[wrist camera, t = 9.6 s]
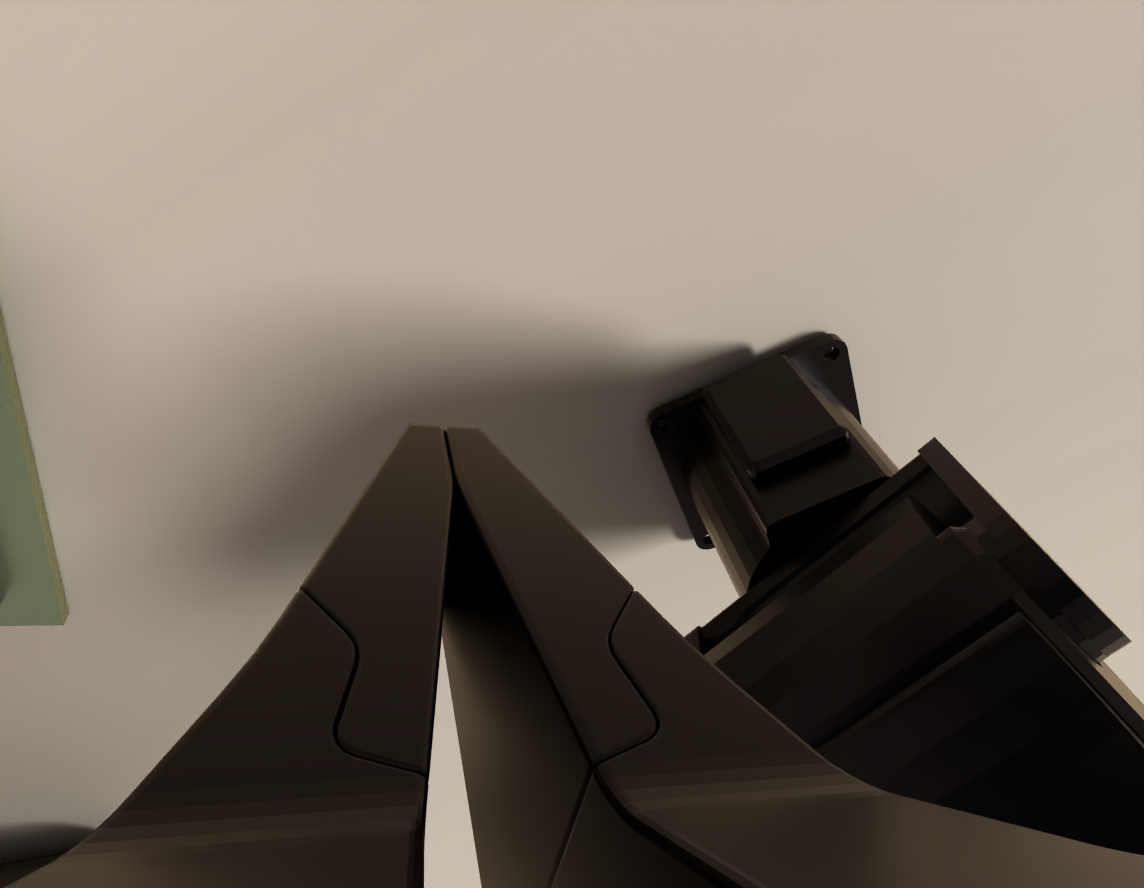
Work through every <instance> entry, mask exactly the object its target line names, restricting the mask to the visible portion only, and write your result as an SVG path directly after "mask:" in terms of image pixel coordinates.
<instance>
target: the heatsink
mask: <svg viewBox="0 0 1144 888" xmlns="http://www.w3.org/2000/svg"><path fill="white" fill-rule="evenodd" d="M68 614H69V612H68V607H67V603H66V598H65V594H64V589H63V585H62V580H61V576H60V571H59V567H58V563H57V558H56V554H55V549H54V545H53V540H52V536H51V531H50V527H49V522H48V518H47V513H46V509H45V504H44V500H43V496H42V491H41V487H40V482H39V478H38V473H37V469H36V464H35V460H34V455H33V451H32V446H31V442H30V437H29V433H28V428H27V424H26V420H25V415H24V411H23V406H22V402H21V397H20V393H19V388H18V384H17V379H16V375H15V370H14V366H13V361H12V357H11V352H10V348H9V344H8V339H7V335H6V330H5V326H4V321H3V317H2V312H1V308H0V626H21V625H64V623H65V621H66V618H67V616H68Z"/></svg>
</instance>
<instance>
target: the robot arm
mask: <svg viewBox="0 0 1144 888" xmlns="http://www.w3.org/2000/svg"><path fill="white" fill-rule="evenodd" d="M831 347H834V348H833V350H832V351H831V352H830V353H829V354H827V355H824V353H825V352H826V350H828V349H829V348H831ZM663 420H669V421H668V423H667V424H665V425H663V426H658V424H659V423H660V422H661V421H663ZM646 422H647V427H648V429H649V432H650V434H651V437H652V439H653V441H654V444H655V446H656V449H657V451H658V453H659V456H660V458H661V461H662V463H663V465H664V468H665V470H666V473H667V475H668V477H669V480H670V482H671V485H672V487H673V490H674V492H675V494H676V497H677V499H678V502H679V504H680V506H681V509H682V511H683V514H684V516H685V518H686V521H687V523H688V526H689V528H690V530H691V533H692V535H693V538H694V540H695V542H696V544H697V546H698V547H699V548H701V549H711V548H716V550H717V552H718V554H719V556H720V558H721V560H722V562H723V564H724V566H725V568H726V570H727V572H728V574H729V576H730V579H731V581H732V583H733V585H734V587H735V589H736V591H737V593H738V595H739V598H738V599H737V600H736V601H734V602H733V603H732V604H731V605H729V606H728V607H727V608H726V609H724V610H723V611H722V612H721V613H719V614H718V615H717V616H716V617H714V618H713V619H712V620H711V621H709V622H708V623H707V624H706V625H704V626H703V627H700V626H698V627H696V628H695V629H694V630H692V631H691V632H690V633H689V634H687V635H686V636H685V637H683V636H682V635H681V634H680V633H679V632H678V631H677V630H676V629H675V628H674V627H673V626H672V625H671V624H670V623H669V622H668V621H667V620H666V619H664V618H663V617H662V616H661V615H660V614H659V613H658V612H657V611H656V610H655V609H654V608H653V607H652V605H651V604H650V603H649V602H648V601H647V600H646V599H645V598H644V597H643V596H642V595H641V594H640V593H639V592H637V591H634V588H633V586H632V585H631V584H630V583H629V582H628V581H627V580H626V579H625V578H624V577H623V576H622V575H621V574H620V573H619V572H618V571H617V570H616V569H615V568H614V567H613V566H612V565H611V563H610V562H609V561H608V560H607V559H606V558H605V557H604V556H603V555H602V554H601V553H600V552H599V551H598V550H597V549H596V548H595V547H594V546H593V545H592V544H591V543H590V542H589V541H588V540H587V539H586V538H585V537H584V536H583V535H582V533H581V532H580V531H579V530H578V529H577V528H576V527H575V526H574V525H573V524H572V523H571V522H570V521H569V520H568V519H567V518H566V517H565V516H564V515H563V514H562V513H561V512H560V511H559V510H558V509H557V508H556V507H555V506H554V505H553V504H552V502H551V501H550V500H549V499H548V498H547V497H546V496H545V495H544V494H543V493H542V492H541V491H540V490H539V489H538V488H537V487H536V486H535V485H534V484H533V483H532V482H531V481H530V480H529V479H528V478H527V477H526V476H525V475H524V474H523V473H522V471H521V470H520V469H519V468H518V467H517V466H516V465H515V464H514V463H513V462H512V461H511V460H510V459H509V458H508V457H507V456H506V455H505V454H504V453H503V452H502V451H501V450H500V449H499V448H498V447H497V446H496V445H495V444H494V443H493V442H492V440H491V439H490V438H489V437H488V436H487V435H486V434H485V433H484V432H483V431H482V430H481V429H479V428H476V427H461V426H448V427H446V428H445V429H444V430H443V428H442V427H441V426H438V425H425V424H409V425H408V426H407V427H406V428H405V429H404V431H403V432H402V434H401V435H400V437H399V438H398V440H397V441H396V443H395V444H394V446H393V447H392V449H391V450H390V452H389V453H388V455H387V456H386V458H385V459H384V461H383V462H382V464H381V465H380V467H379V469H378V470H377V472H376V473H375V475H374V476H373V478H372V479H371V481H370V482H369V484H368V485H367V487H366V488H365V490H364V491H363V493H362V494H361V496H360V497H359V499H358V500H357V502H356V503H355V505H354V506H353V508H352V510H351V511H350V513H349V514H348V516H347V517H346V519H345V520H344V522H343V523H342V525H341V526H340V528H339V529H338V531H337V532H336V534H335V535H334V537H333V538H332V540H331V541H330V543H329V544H328V546H327V547H326V549H325V551H324V552H323V554H322V555H321V557H320V558H319V560H318V561H317V563H316V564H315V566H314V567H313V569H312V570H311V572H310V573H309V575H308V576H307V578H306V579H305V581H304V582H303V584H302V585H301V587H300V589H299V592H297V593H296V594H295V595H294V597H293V598H292V600H291V601H290V603H289V605H288V606H287V608H286V609H285V611H284V612H283V614H282V615H281V617H280V618H279V619H278V621H277V622H276V624H275V625H274V626H273V628H272V629H271V631H270V632H269V633H268V635H267V636H266V638H265V639H264V640H263V642H262V643H261V644H260V646H259V647H258V649H257V650H256V651H255V653H254V654H253V655H252V656H251V658H250V659H249V660H248V661H247V662H246V664H245V665H244V666H243V667H242V668H241V670H240V671H239V672H238V673H237V674H236V675H235V677H234V678H233V679H232V680H231V681H230V683H229V684H228V685H227V686H226V687H225V689H224V690H223V691H222V692H221V693H220V694H219V696H218V697H217V698H216V699H215V700H214V701H213V702H212V703H211V705H210V706H209V707H208V708H207V709H206V710H205V711H204V712H203V714H202V715H201V716H200V717H199V718H198V719H197V720H196V721H195V723H194V724H193V725H192V726H191V727H190V728H189V729H188V730H187V731H186V733H185V734H184V735H183V736H182V737H181V738H180V739H179V740H178V742H177V743H176V744H175V745H174V746H173V747H172V748H171V749H170V751H169V752H168V753H167V754H166V755H165V756H164V757H163V758H162V760H161V761H160V762H159V763H158V764H157V765H156V766H155V767H154V769H153V770H152V771H151V772H150V773H149V774H148V775H147V776H146V778H145V779H144V780H143V781H142V782H141V783H140V784H139V785H138V787H137V788H136V789H135V790H134V791H133V792H132V793H131V794H130V795H129V797H128V798H127V799H126V800H125V801H124V802H123V803H122V804H121V805H120V806H119V807H118V808H117V809H116V811H115V812H114V813H113V814H112V815H111V816H110V817H109V818H107V819H106V820H105V821H104V822H103V823H102V824H101V825H100V826H99V827H98V828H97V829H96V830H95V831H93V832H92V833H91V834H90V835H89V836H87V837H86V838H85V839H84V840H82V841H81V842H80V843H79V844H78V845H76V846H75V847H74V848H72V849H71V850H69V851H68V852H66V853H65V854H64V855H62V856H61V857H59V858H58V859H56V860H55V861H53V862H51V863H49V864H48V865H46V866H44V867H42V868H40V869H38V870H36V871H34V872H32V873H31V874H29V875H27V876H25V877H23V878H21V879H19V880H17V881H15V882H13V883H12V884H10V885H8V886H6V887H4V888H424V839H425V822H426V808H427V795H428V780H429V772H430V761H431V750H432V738H433V727H434V716H435V704H436V693H437V682H438V670H439V659H440V648H441V636H442V639H443V645H444V651H445V658H446V664H447V670H448V677H449V683H450V689H451V696H452V702H453V708H454V715H455V721H456V727H457V734H458V740H459V746H460V753H461V759H462V765H463V772H464V778H465V784H466V791H467V797H468V803H469V810H470V816H471V822H472V829H473V835H474V841H475V848H476V854H477V860H478V867H479V873H480V880H481V886H482V888H1144V704H1143V703H1142V702H1141V701H1140V700H1139V699H1138V698H1137V697H1136V696H1135V695H1134V694H1133V693H1132V691H1131V690H1130V689H1129V688H1128V687H1127V686H1126V685H1125V684H1124V683H1123V682H1122V681H1121V680H1120V679H1119V677H1118V676H1117V675H1116V674H1115V673H1114V672H1113V671H1112V670H1111V669H1110V668H1109V667H1108V666H1107V664H1106V663H1105V662H1104V661H1103V660H1104V659H1105V658H1107V657H1108V656H1110V655H1111V654H1113V653H1115V652H1116V651H1118V650H1119V649H1121V648H1122V647H1124V646H1126V645H1127V644H1129V643H1130V642H1132V641H1131V640H1130V639H1129V638H1128V637H1127V636H1126V635H1125V634H1124V633H1123V632H1122V631H1121V630H1120V629H1119V628H1118V627H1117V626H1116V624H1115V623H1114V622H1113V621H1112V620H1111V619H1110V618H1109V617H1108V616H1107V615H1106V614H1105V613H1104V612H1103V611H1102V610H1101V609H1100V608H1099V607H1098V606H1097V605H1096V603H1095V602H1094V601H1093V600H1092V599H1091V598H1090V597H1089V596H1088V595H1087V594H1086V593H1085V592H1084V591H1083V590H1082V589H1081V588H1080V587H1079V586H1078V585H1077V583H1076V582H1075V581H1074V580H1073V579H1072V578H1071V577H1070V576H1069V575H1068V574H1067V573H1066V572H1065V571H1064V570H1063V569H1062V568H1061V567H1060V566H1059V565H1058V564H1057V563H1056V562H1055V561H1054V560H1053V559H1052V557H1051V556H1050V555H1049V554H1048V553H1047V552H1046V551H1045V550H1044V549H1043V548H1042V547H1041V546H1040V545H1039V544H1038V543H1037V542H1036V541H1035V540H1034V539H1033V538H1032V537H1031V536H1030V535H1029V534H1028V533H1027V532H1026V531H1025V530H1024V529H1023V527H1022V526H1021V525H1020V524H1019V523H1018V522H1017V521H1016V520H1015V519H1014V518H1013V517H1012V516H1011V515H1010V514H1009V513H1008V512H1007V511H1006V510H1005V509H1004V508H1003V507H1002V506H1001V505H1000V504H999V503H998V502H997V501H996V500H995V499H994V498H993V497H992V496H991V495H990V494H989V492H988V491H987V490H986V489H985V488H984V487H983V486H982V485H981V484H980V483H979V482H978V481H977V480H976V479H975V478H974V477H973V476H972V475H971V474H970V473H969V472H968V471H967V470H966V469H965V468H964V467H963V466H962V465H961V464H960V463H959V462H958V461H957V460H956V459H955V458H954V457H953V456H952V455H951V453H950V452H949V451H948V450H947V449H946V448H945V447H944V446H943V445H942V444H941V443H940V442H939V441H938V440H937V439H936V438H935V437H934V438H933V439H932V440H930V441H929V442H928V443H927V444H925V445H924V446H923V447H922V448H920V449H919V450H918V452H919V453H920V454H919V455H918V456H917V457H915V458H914V459H913V460H912V461H910V462H909V463H908V464H907V465H905V466H904V467H903V468H901V469H900V470H899V469H898V468H897V467H896V465H895V464H894V463H893V462H892V461H891V460H890V458H889V457H888V456H887V455H886V454H885V453H884V451H883V450H882V449H881V448H880V447H879V446H878V444H877V443H876V442H875V441H874V440H873V439H872V437H871V436H870V435H869V434H868V433H867V431H866V430H865V429H864V428H863V427H862V425H861V419H860V414H859V409H858V403H857V398H856V392H855V387H854V382H853V376H852V371H851V365H850V360H849V355H848V349H847V346H846V344H845V343H844V342H843V341H842V339H841V338H840V337H838V336H837V335H835V334H826V335H822V336H820V337H818V338H816V339H813V340H811V341H809V342H806V343H804V344H802V345H799V346H797V347H795V348H793V349H790V350H788V351H786V352H783V353H781V354H779V355H776V356H774V357H771V358H769V359H767V360H765V361H762V362H760V363H758V364H755V365H753V366H751V367H749V368H746V369H744V370H742V371H739V372H737V373H735V374H732V375H730V376H728V377H726V378H723V379H721V380H719V381H716V382H714V383H712V384H710V385H708V386H706V387H703V388H701V389H699V390H696V391H694V392H692V393H689V394H687V395H685V396H683V397H680V398H678V399H676V400H673V401H671V402H669V403H667V404H664V405H662V406H660V407H657V408H656V409H654V410H653V411H651V413H650V414H649V415H648V417H647V420H646ZM708 534H709V536H706V535H708ZM705 536H706V537H705ZM633 591H634V592H633Z"/></svg>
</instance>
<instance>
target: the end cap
mask: <svg viewBox="0 0 1144 888" xmlns="http://www.w3.org/2000/svg"><path fill="white" fill-rule="evenodd" d="M62 855H64V854H59V855H54V856H48V857H43V858H37V859H32V860H26V861H21V862H15V863H10V864H5V865H0V888H4V887H6V886H8V885H10V884H12V883H13V882H15V881H17V880H19V879H21V878H23V877H25V876H27V875H29V874H31V873H32V872H34V871H36V870H38V869H40V868H42V867H44V866H46V865H48V864H49V863H51V862H53V861H55V860H56V859H58V858H59V857H61V856H62Z"/></svg>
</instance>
